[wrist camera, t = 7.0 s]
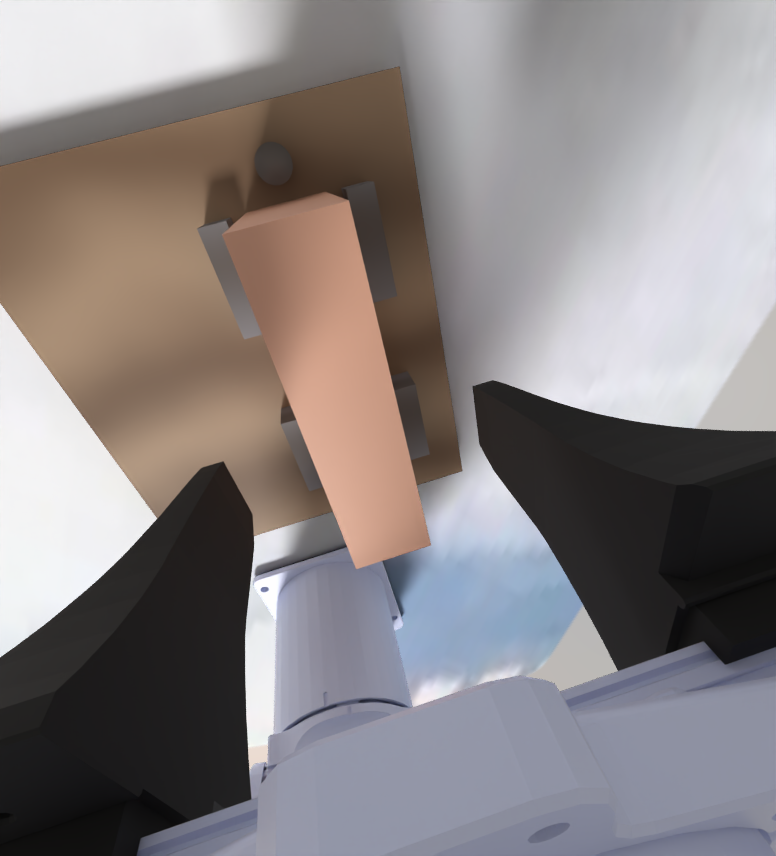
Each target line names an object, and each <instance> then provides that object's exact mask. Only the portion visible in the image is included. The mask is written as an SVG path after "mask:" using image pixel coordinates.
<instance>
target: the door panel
mask: <svg viewBox="0 0 776 856" xmlns="http://www.w3.org/2000/svg"><path fill="white" fill-rule="evenodd" d="M222 236H223V238H224V241H225V243H226V246H227V248H228V251H229V253H230V256H231V258H232V261H233V263H234V266H235V268H236V271H237V273H238V276H239V278H240V281H241V283H242V286H243V288H244V291H245V293H246V296H247V298H248V301H249V303H250V306H251V308H252V311H253V313H254V316H255V318H256V321H257V323H258V326H259V328H260V331H261V333H262V336H263V338H264V341H265V343H266V346H267V348H268V351H269V353H270V356H271V358H272V361H273V363H274V366H275V368H276V370H277V373H278V375H279V378H280V380H281V383H282V385H283V388H284V390H285V393H286V395H287V398H288V400H289V403H290V405H291V408H292V410H293V413H294V415H295V418H296V420H297V423H298V425H299V428H300V430H301V433H302V435H303V438H304V440H305V443H306V445H307V448H308V450H309V453H310V455H311V458H312V460H313V463H314V465H315V468H316V470H317V473H318V475H319V478H320V480H321V483H322V485H323V488H324V490H325V493H326V495H327V498H328V500H329V503H330V505H331V508H332V510H333V513H334V515H335V518H336V520H337V522H338V525H339V527H340V530H341V532H342V535H343V537H344V540H345V542H346V545H347V547H348V550H349V552H350V555H351V557H352V560H353V562H354V565H355V567H356V569H359V568H362V567H365V566H368V565H371V564H374V563H377V562H380V561H384V560H387V559H390V558H393V557H396V556H399V555H402V554H405V553H408V552H412V551H415V550H418V549H421V548H424V547H427V546H430V545H431V543H430V539H429V535H428V530H427V526H426V522H425V518H424V514H423V509H422V505H421V501H420V497H419V493H418V488H417V484H416V480H415V476H414V472H413V468H412V463H411V459H410V455H409V451H408V447H407V442H406V438H405V434H404V430H403V426H402V421H401V417H400V413H399V409H398V405H397V400H396V396H395V392H394V388H393V384H392V379H391V375H390V371H389V367H388V363H387V358H386V354H385V350H384V346H383V342H382V337H381V333H380V329H379V325H378V321H377V316H376V312H375V308H374V304H373V300H372V295H371V291H370V287H369V283H368V279H367V274H366V270H365V266H364V262H363V258H362V253H361V249H360V245H359V241H358V237H357V232H356V228H355V224H354V220H353V216H352V211H351V207H350V203H349V200H346V199H343V198H341V197H338V196H336V195H333V194H330V193H328V192H322V193H318V194H314V195H311V196H307V197H303V198H299V199H296V200H292V201H288V202H284V203H281V204H277V205H273V206H269V207H265V208H262V209H258V210H254V211H250V212H247V213H245V214H244V215H243V216H242V217H241V218H240V219H239V220H238V221H237V222H235V223H234V224H233V225H232V226H231V227H230V228H229V229H228V230H226V231H225V232H224V233H223V234H222Z"/></svg>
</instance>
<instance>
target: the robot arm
mask: <svg viewBox="0 0 776 856" xmlns="http://www.w3.org/2000/svg"><path fill="white" fill-rule="evenodd" d="M473 395H474V403H475V411H476V419H477V428H478V436H479V444H480V446H481V448H482V450H483V452H484V454H485V455H486V457H487V459H488V461H489V463H490V464H491V466H492V468H493V470H494V471H495V473H496V474H497V475H498V477H499V478H500V479H501V481H502V482H503V483H504V485H505V486H506V487H507V489H508V490H509V491H510V493H511V494H512V495H513V497H514V498H515V499H516V501H517V502H518V503H519V505H520V506H521V507H522V508H523V510H524V511H525V512H526V514H527V515H528V516H529V518H530V519H531V520H532V522H533V523H534V524H535V526H536V527H537V528H538V530H539V531H540V533H541V534H542V536H543V537H544V538H545V540H546V542H547V543H548V545H549V547H550V548H551V550H552V552H553V553H554V555H555V557H556V558H557V560H558V562H559V563H560V565H561V567H562V568H563V570H564V572H565V574H566V575H567V577H568V579H569V581H570V582H571V584H572V586H573V588H574V589H575V591H576V593H577V595H578V596H579V598H580V600H581V602H582V603H583V605H584V607H585V609H586V610H587V612H588V614H589V616H590V618H591V620H592V622H593V624H594V625H595V627H596V629H597V631H598V633H599V635H600V637H601V639H602V640H603V642H604V644H605V646H606V648H607V650H608V652H609V654H610V656H611V658H612V660H613V662H614V664H615V666H616V668H617V670H618V671H617V672H614V673H611V674H608V675H606V676H603V677H600V678H597V679H594V680H591V681H588V682H586V683H583V684H580V685H577V686H574V687H571V688H568V689H566V690H563V691H559V690H558V688H557V686H556V685H555V684H554V683H552V682H549V681H546V680H542V679H537V678H531V677H525V676H515V677H510V678H505V679H500V680H495V681H490V682H485V683H483V684H480V685H477V686H474V687H471V688H468V689H465V690H462V691H459V692H456V693H454V694H451V695H448V696H445V697H442V698H439V699H436V700H433V701H430V702H427V703H425V704H422V705H419V706H416V707H413V706H412V702H411V697H410V693H409V689H408V685H407V681H406V676H405V672H404V668H403V664H402V660H401V655H400V651H399V647H398V643H397V639H396V634H395V630H397V629H400V628H401V627H402V626H403V620H402V617H401V614H400V611H399V608H398V605H397V602H396V599H395V596H394V593H393V591H392V588H391V585H390V582H389V579H388V576H387V573H386V570H385V567H384V564H383V561H380V562H377V563H374V564H371V565H368V566H365V567H362V568H359V569H356V567H355V565H354V562H353V560H352V557H351V555H350V552H349V550H348V547H346V548H343V549H339V550H336V551H333V552H330V553H327V554H324V555H321V556H317V557H314V558H311V559H308V560H305V561H302V562H299V563H295V564H292V565H289V566H286V567H283V568H280V569H277V570H273V571H270V572H267V573H264V574H261V575H258V576H256V577H255V578H254V581H253V585H254V588H255V589H256V591H257V592H258V594H259V595H260V597H261V599H262V600H263V602H264V603H265V605H266V607H267V608H268V610H269V611H270V613H271V614H272V616H273V618H274V619H275V621H276V653H275V697H274V734H273V735H270V736H269V737H268V763H266V762H263V763H256V764H254V765H253V766H252V767H251V769H250V772H249V760H248V741H247V722H246V691H245V630H246V617H247V608H248V599H249V590H250V581H251V572H252V562H253V552H254V529H253V514H252V512H251V510H250V509H249V507H248V505H247V503H246V501H245V499H244V498H243V496H242V494H241V492H240V490H239V489H238V487H237V485H236V483H235V481H234V479H233V478H232V476H231V474H230V472H229V470H228V469H227V467H226V465H225V463H224V461H222V462H219V463H216V464H212V465H209V466H206V467H202V468H201V469H200V470H199V471H198V472H197V473H196V474H195V475H194V476H193V477H192V478H191V480H190V481H189V482H188V483H187V484H186V485H185V487H184V488H183V489H182V490H181V491H180V493H179V494H178V495H177V496H176V497H175V499H174V500H173V501H172V502H171V503H170V504H169V506H168V507H167V508H166V509H165V510H164V512H163V513H162V514H161V515H160V516H159V517H158V519H157V520H156V521H155V522H154V523H153V524H152V525H151V526H150V527H149V529H148V530H147V531H146V532H145V533H144V534H143V535H142V536H141V537H140V538H139V540H138V541H137V542H136V543H135V544H134V545H133V546H132V547H131V548H130V549H129V550H128V551H127V552H126V553H125V554H124V555H123V557H122V558H121V559H119V560H118V561H117V562H116V563H115V564H114V565H113V566H112V567H111V568H110V569H109V570H108V571H107V572H106V573H105V574H104V575H103V576H102V577H101V578H99V579H98V580H97V581H96V582H95V583H94V584H93V585H92V586H91V587H90V588H88V589H87V590H86V591H85V592H84V593H83V594H81V595H80V596H79V597H78V598H77V599H75V600H74V601H73V602H72V603H71V604H69V605H68V606H67V607H66V608H64V609H63V610H62V611H61V612H60V613H58V614H57V615H56V616H55V617H54V618H52V619H51V620H50V621H49V622H47V623H46V624H45V625H44V626H42V627H41V628H40V629H38V630H37V631H36V632H34V633H33V634H32V635H30V636H29V637H28V638H26V639H25V640H24V641H22V642H21V643H20V644H18V645H17V646H16V647H14V648H13V649H11V650H10V651H9V652H7V653H6V654H4V655H3V656H2V657H0V856H776V431H724V430H707V429H692V428H682V427H671V426H664V425H656V424H649V423H641V422H635V421H629V420H624V419H619V418H614V417H610V416H605V415H600V414H596V413H592V412H588V411H584V410H581V409H577V408H574V407H570V406H567V405H564V404H560V403H557V402H554V401H551V400H548V399H545V398H542V397H540V396H537V395H534V394H531V393H528V392H526V391H523V390H520V389H518V388H515V387H512V386H509V385H507V384H504V383H501V382H497V381H494V380H492V381H489V382H486V383H482V384H479V385H476V386H473Z"/></svg>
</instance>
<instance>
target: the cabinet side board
mask: <svg viewBox="0 0 776 856" xmlns="http://www.w3.org/2000/svg"><path fill="white" fill-rule="evenodd" d="M322 192H328V193H330V194H333V195H336V196H338V197H341V198H343V199H346V200H349V203H350V207H351V211H352V216H353V220H354V224H355V228H356V232H357V237H358V241H359V245H360V249H361V253H362V258H363V262H364V266H365V270H366V274H367V279H368V283H369V287H370V291H371V295H372V300H373V304H374V308H375V312H376V316H377V321H378V325H379V329H380V333H381V337H382V342H383V346H384V350H385V354H386V358H387V363H388V367H389V371H390V375H391V379H392V384H393V388H394V392H395V396H396V400H397V405H398V409H399V413H400V417H401V421H402V426H403V430H404V434H405V438H406V442H407V447H408V451H409V455H410V459H411V463H412V468H413V472H414V476H415V480H416V484H417V485H419V484H422V483H426V482H429V481H432V480H435V479H438V478H442V477H445V476H448V475H451V474H454V473H458V472H461V471H462V466H461V459H460V453H459V447H458V440H457V434H456V427H455V421H454V414H453V408H452V402H451V395H450V389H449V382H448V376H447V369H446V363H445V356H444V350H443V344H442V337H441V331H440V324H439V318H438V311H437V305H436V298H435V292H434V286H433V279H432V273H431V266H430V260H429V253H428V247H427V241H426V234H425V228H424V221H423V215H422V208H421V202H420V195H419V189H418V183H417V176H416V170H415V163H414V157H413V150H412V144H411V138H410V131H409V125H408V118H407V112H406V105H405V99H404V92H403V86H402V80H401V73H400V67H395V68H391V69H387V70H383V71H379V72H375V73H371V74H367V75H363V76H359V77H355V78H351V79H347V80H343V81H339V82H335V83H331V84H327V85H323V86H319V87H315V88H311V89H307V90H303V91H299V92H295V93H291V94H287V95H283V96H279V97H275V98H271V99H267V100H263V101H259V102H255V103H251V104H247V105H243V106H239V107H235V108H231V109H227V110H223V111H219V112H215V113H211V114H207V115H203V116H199V117H195V118H191V119H187V120H183V121H179V122H175V123H171V124H167V125H163V126H159V127H155V128H151V129H147V130H143V131H139V132H135V133H131V134H127V135H123V136H120V137H116V138H112V139H108V140H104V141H100V142H96V143H92V144H88V145H84V146H80V147H76V148H72V149H68V150H64V151H60V152H56V153H52V154H48V155H44V156H40V157H36V158H32V159H28V160H24V161H20V162H16V163H12V164H8V165H4V166H0V303H1V305H2V306H3V307H4V309H5V310H6V312H7V313H8V314H9V316H10V317H11V318H12V320H13V321H14V323H15V324H16V325H17V327H18V328H19V329H20V331H21V332H22V334H23V335H24V336H25V338H26V339H27V340H28V342H29V343H30V345H31V346H32V347H33V349H34V350H35V351H36V353H37V354H38V355H39V357H40V358H41V360H42V361H43V362H44V364H45V365H46V366H47V368H48V369H49V371H50V372H51V373H52V375H53V376H54V377H55V379H56V380H57V382H58V383H59V384H60V386H61V387H62V388H63V390H64V391H65V393H66V394H67V395H68V397H69V398H70V399H71V401H72V402H73V403H74V405H75V406H76V408H77V409H78V410H79V412H80V413H81V414H82V416H83V417H84V419H85V420H86V421H87V423H88V424H89V425H90V427H91V428H92V430H93V431H94V432H95V434H96V435H97V436H98V438H99V439H100V441H101V442H102V443H103V445H104V446H105V447H106V449H107V450H108V451H109V453H110V454H111V456H112V457H113V458H114V460H115V461H116V462H117V464H118V465H119V467H120V468H121V469H122V471H123V472H124V473H125V475H126V476H127V478H128V479H129V480H130V482H131V483H132V484H133V486H134V487H135V488H136V490H137V491H138V493H139V494H140V495H141V497H142V498H143V499H144V501H145V502H146V504H147V505H148V506H149V508H150V509H151V510H152V512H153V513H154V515H155V516H156V517H157V519H158V517H159V516H160V515H161V514H162V513H163V512H164V510H165V509H166V508H167V507H168V506H169V504H170V503H171V502H172V501H173V500H174V499H175V497H176V496H177V495H178V494H179V493H180V491H181V490H182V489H183V488H184V487H185V485H186V484H187V483H188V482H189V481H190V480H191V478H192V477H193V476H194V475H195V474H196V473H197V472H198V471H199V470H200V469H201V468H202V467H206V466H209V465H212V464H216V463H219V462H222V461H224V463H225V465H226V467H227V469H228V470H229V472H230V474H231V476H232V478H233V479H234V481H235V483H236V485H237V487H238V489H239V490H240V492H241V494H242V496H243V498H244V499H245V501H246V503H247V505H248V507H249V509H250V510H251V512H252V514H253V529H254V536H256V535H259V534H262V533H265V532H268V531H272V530H275V529H278V528H281V527H285V526H288V525H291V524H294V523H297V522H301V521H304V520H307V519H310V518H313V517H317V516H320V515H323V514H326V513H329V512H333V510H332V508H331V505H330V503H329V500H328V498H327V495H326V493H325V490H324V488H323V485H322V483H321V480H320V478H319V475H318V473H317V470H316V468H315V465H314V463H313V460H312V458H311V455H310V453H309V450H308V448H307V445H306V443H305V440H304V438H303V435H302V433H301V430H300V428H299V425H298V423H297V420H296V418H295V415H294V413H293V410H292V408H291V405H290V403H289V400H288V398H287V395H286V393H285V390H284V388H283V385H282V383H281V380H280V378H279V375H278V373H277V370H276V368H275V366H274V363H273V361H272V358H271V356H270V353H269V351H268V348H267V346H266V343H265V341H264V338H263V336H262V333H261V331H260V328H259V326H258V323H257V321H256V318H255V316H254V313H253V311H252V308H251V306H250V303H249V301H248V298H247V296H246V293H245V291H244V288H243V286H242V283H241V281H240V278H239V276H238V273H237V271H236V268H235V266H234V263H233V261H232V258H231V256H230V253H229V251H228V248H227V246H226V243H225V241H224V238H223V236H222V234H223V233H224V232H225V231H226V230H228V229H229V228H230V227H231V226H232V225H233V224H234V223H235V222H237V221H238V220H239V219H240V218H241V217H242V216H243V215H244V214H245V213H247V212H250V211H254V210H258V209H262V208H265V207H269V206H273V205H277V204H281V203H284V202H288V201H292V200H296V199H299V198H303V197H307V196H311V195H314V194H318V193H322Z"/></svg>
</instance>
